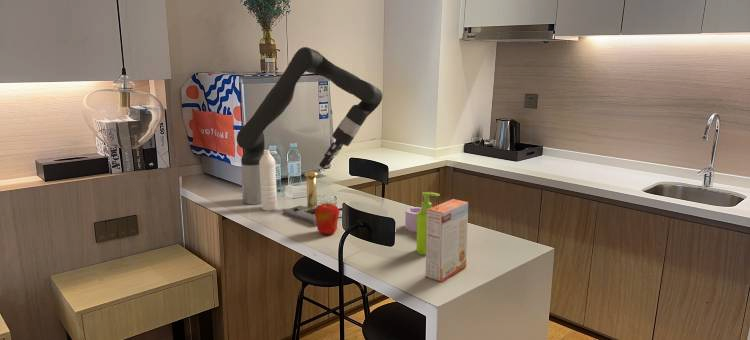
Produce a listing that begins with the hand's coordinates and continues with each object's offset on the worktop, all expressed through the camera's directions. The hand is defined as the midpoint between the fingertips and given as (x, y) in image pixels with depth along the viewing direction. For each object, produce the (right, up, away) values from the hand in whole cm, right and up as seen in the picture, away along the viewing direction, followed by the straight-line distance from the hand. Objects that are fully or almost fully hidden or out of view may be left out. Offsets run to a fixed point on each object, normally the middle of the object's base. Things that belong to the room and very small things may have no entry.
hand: (323, 165), depth 195 cm
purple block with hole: (+41, -24, -9) cm, 48 cm away
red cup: (+3, -25, -12) cm, 28 cm away
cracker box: (+41, -32, -45) cm, 69 cm away
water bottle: (-24, -18, +17) cm, 34 cm away
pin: (-7, -18, +18) cm, 26 cm away
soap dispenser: (+37, -29, -29) cm, 55 cm away
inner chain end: (-7, -20, +7) cm, 23 cm away
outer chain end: (-3, -21, +3) cm, 22 cm away
